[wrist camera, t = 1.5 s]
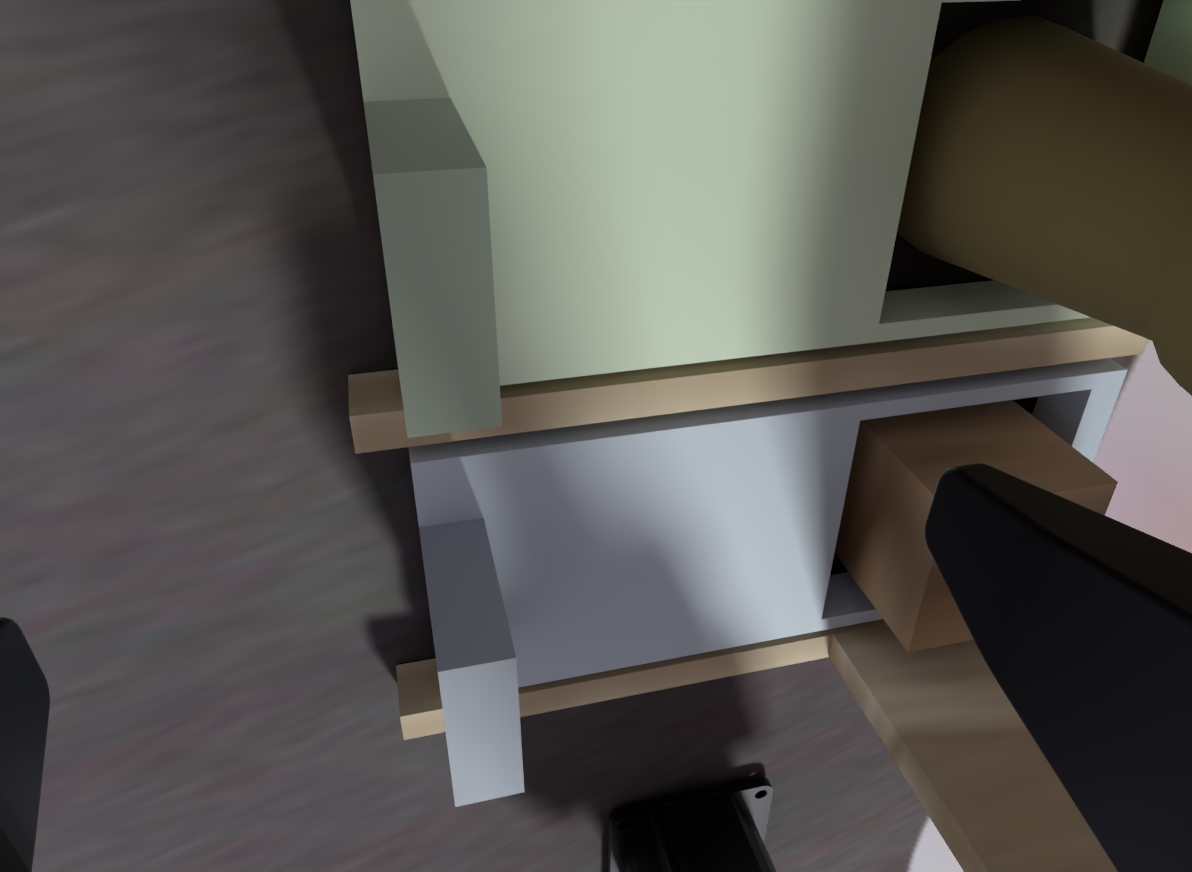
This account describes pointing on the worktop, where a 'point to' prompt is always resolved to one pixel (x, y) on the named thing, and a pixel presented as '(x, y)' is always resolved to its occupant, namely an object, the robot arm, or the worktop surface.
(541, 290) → the pale green tray
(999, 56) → the olive rounded upright piece
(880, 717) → the board
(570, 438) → the blue-grey tray
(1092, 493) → the walnut cube
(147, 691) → the worktop surface
